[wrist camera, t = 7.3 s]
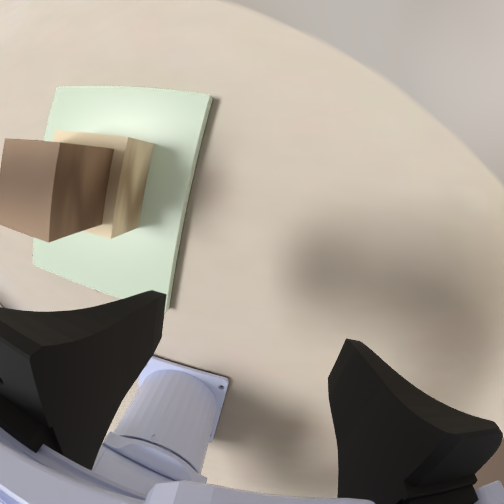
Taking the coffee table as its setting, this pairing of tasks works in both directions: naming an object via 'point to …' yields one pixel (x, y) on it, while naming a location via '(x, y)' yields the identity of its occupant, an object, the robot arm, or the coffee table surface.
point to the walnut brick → (52, 187)
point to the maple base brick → (118, 179)
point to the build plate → (156, 191)
